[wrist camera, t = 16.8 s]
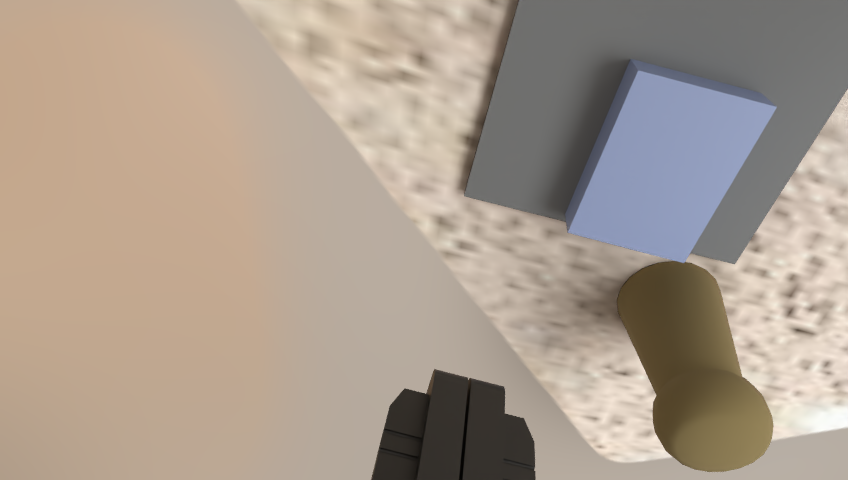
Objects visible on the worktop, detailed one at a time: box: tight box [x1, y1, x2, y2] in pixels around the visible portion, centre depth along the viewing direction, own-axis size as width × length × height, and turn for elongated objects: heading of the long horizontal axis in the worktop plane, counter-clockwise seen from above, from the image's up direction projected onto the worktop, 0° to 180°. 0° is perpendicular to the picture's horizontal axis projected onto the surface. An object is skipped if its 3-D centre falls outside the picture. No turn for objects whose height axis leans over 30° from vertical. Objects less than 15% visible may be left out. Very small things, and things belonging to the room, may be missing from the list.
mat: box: [464, 0, 848, 264], centre depth 29 cm, size 16×14×1 cm
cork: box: [617, 261, 773, 472], centre depth 30 cm, size 6×6×11 cm
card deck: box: [565, 59, 777, 263], centre depth 29 cm, size 2×9×6 cm
